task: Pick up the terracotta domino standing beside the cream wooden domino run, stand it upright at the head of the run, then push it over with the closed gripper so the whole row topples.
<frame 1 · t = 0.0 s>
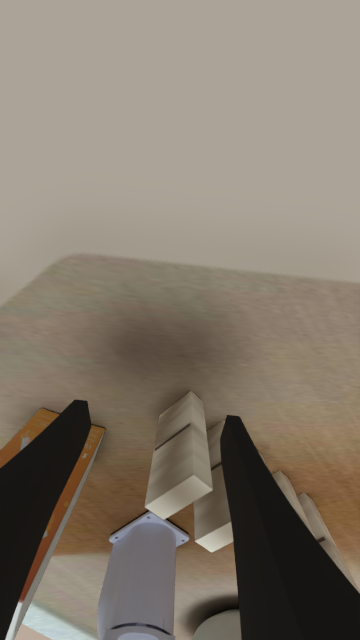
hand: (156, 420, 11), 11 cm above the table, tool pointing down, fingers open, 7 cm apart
domino 2: (292, 504, 28), on the table
domino 6: (180, 408, 23), on the table
domino 5: (212, 435, 24), on the table
domino 3: (268, 483, 27), on the table
serving bowl: (238, 618, 38), on the table
small box: (69, 434, 25), on the table
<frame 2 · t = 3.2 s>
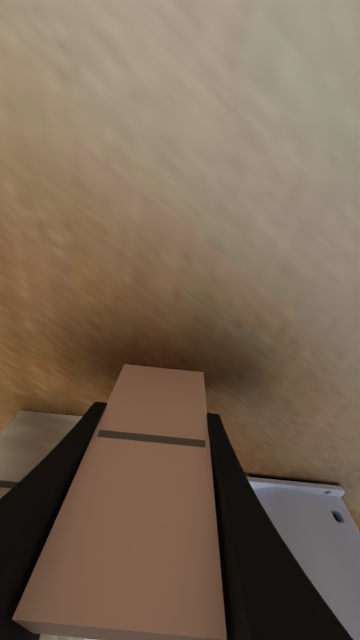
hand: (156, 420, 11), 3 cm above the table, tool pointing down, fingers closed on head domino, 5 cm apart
domino 2: (56, 422, 16), on the table
domino 4: (76, 491, 21), on the table
head domino: (163, 379, 13), on the table, touching gripper
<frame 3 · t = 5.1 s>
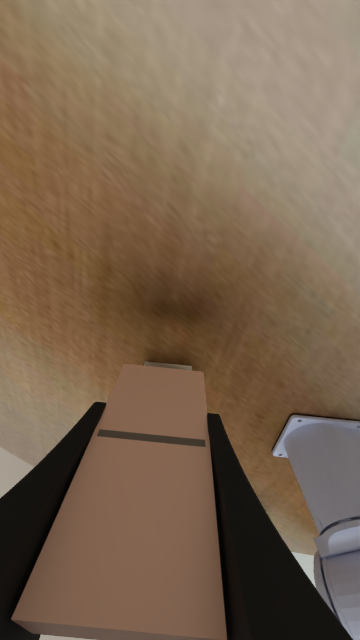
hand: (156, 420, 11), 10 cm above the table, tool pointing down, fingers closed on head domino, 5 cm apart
head domino: (163, 379, 13), point 7 cm above the table, touching gripper
when the fingers open (4 cm above the table, at t = 7.0 s): head domino drops 1 cm, on the table.
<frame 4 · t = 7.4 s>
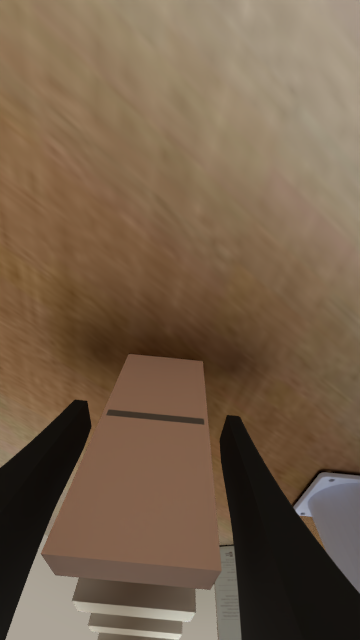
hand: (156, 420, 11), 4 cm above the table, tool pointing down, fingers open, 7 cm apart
domino 2: (160, 420, 17), on the table
domino 4: (155, 487, 22), on the table
head domino: (164, 368, 14), on the table
domino 3: (157, 458, 19), on the table
small box: (238, 552, 30), on the table
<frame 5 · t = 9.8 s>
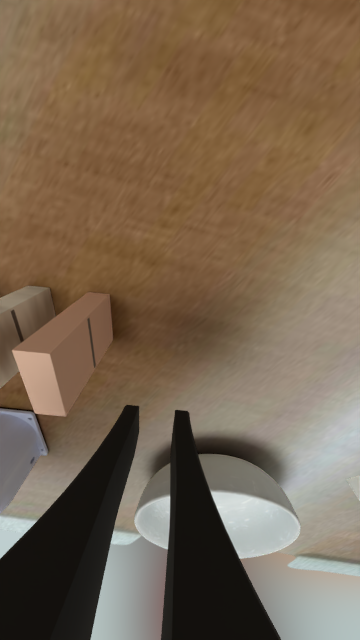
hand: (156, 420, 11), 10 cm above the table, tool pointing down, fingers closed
domino 2: (44, 311, 20), on the table
head domino: (101, 317, 20), on the table
serving bowl: (209, 470, 32), on the table
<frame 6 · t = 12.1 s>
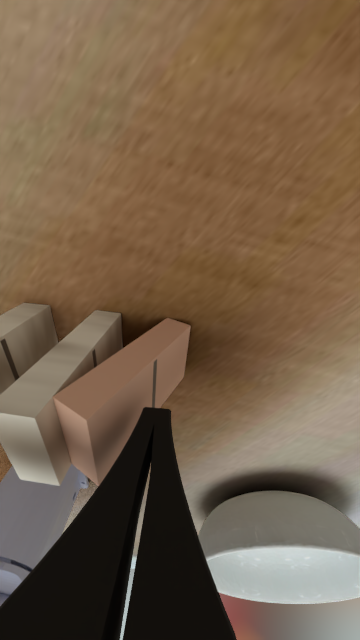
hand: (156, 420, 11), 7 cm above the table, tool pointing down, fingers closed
domino 2: (110, 339, 17), on the table
head domino: (176, 348, 16), on the table, tilted 26°
domino 3: (44, 331, 17), on the table
serving bowl: (265, 503, 29), on the table
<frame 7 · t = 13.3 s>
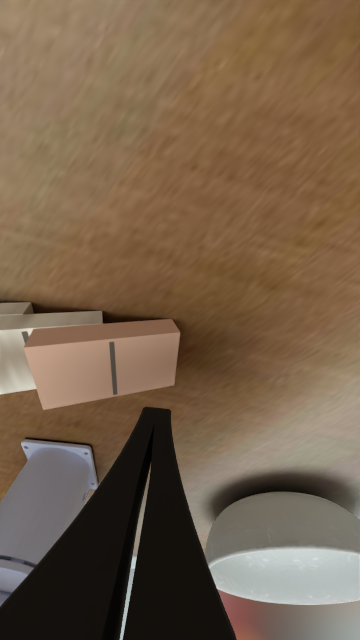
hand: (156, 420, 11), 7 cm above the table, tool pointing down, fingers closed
domino 2: (104, 344, 16), point 1 cm above the table, tilted 68°, touching domino 3, head domino
head domino: (172, 352, 16), point 1 cm above the table, tilted 68°, touching domino 2
domino 3: (35, 336, 16), point 1 cm above the table, tilted 68°, touching domino 2, domino 4
serving bowl: (273, 504, 29), on the table
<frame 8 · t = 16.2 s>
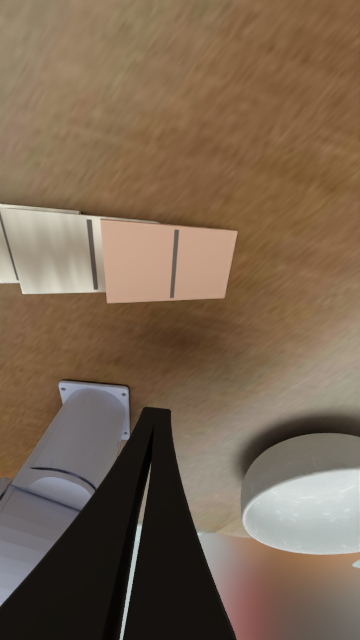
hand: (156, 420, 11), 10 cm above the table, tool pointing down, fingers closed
domino 2: (154, 256, 16), point 1 cm above the table, tilted 69°, touching domino 3, head domino
head domino: (223, 264, 16), point 1 cm above the table, tilted 69°, touching domino 2
domino 3: (84, 247, 16), point 1 cm above the table, tilted 69°, touching domino 2, domino 4
serving bowl: (304, 456, 29), on the table
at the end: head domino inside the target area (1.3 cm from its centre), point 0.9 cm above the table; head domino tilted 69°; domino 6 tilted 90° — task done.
